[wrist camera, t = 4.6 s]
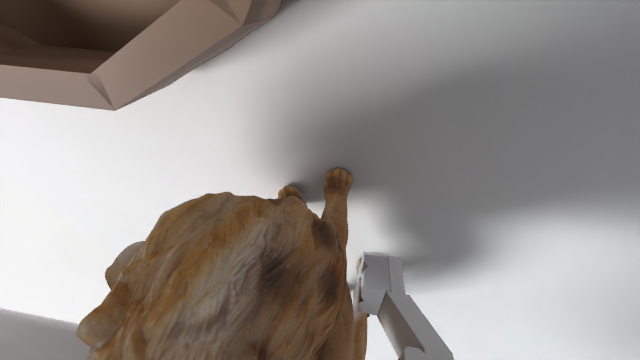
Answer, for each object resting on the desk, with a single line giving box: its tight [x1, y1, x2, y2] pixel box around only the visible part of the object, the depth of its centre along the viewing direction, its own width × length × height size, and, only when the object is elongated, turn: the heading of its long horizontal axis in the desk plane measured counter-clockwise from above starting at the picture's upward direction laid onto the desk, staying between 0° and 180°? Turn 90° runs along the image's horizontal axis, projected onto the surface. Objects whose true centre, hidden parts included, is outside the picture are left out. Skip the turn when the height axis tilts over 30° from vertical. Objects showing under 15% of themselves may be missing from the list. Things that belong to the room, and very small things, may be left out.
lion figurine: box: [75, 168, 370, 360], centre depth 10 cm, size 15×5×9 cm, turn 23°
